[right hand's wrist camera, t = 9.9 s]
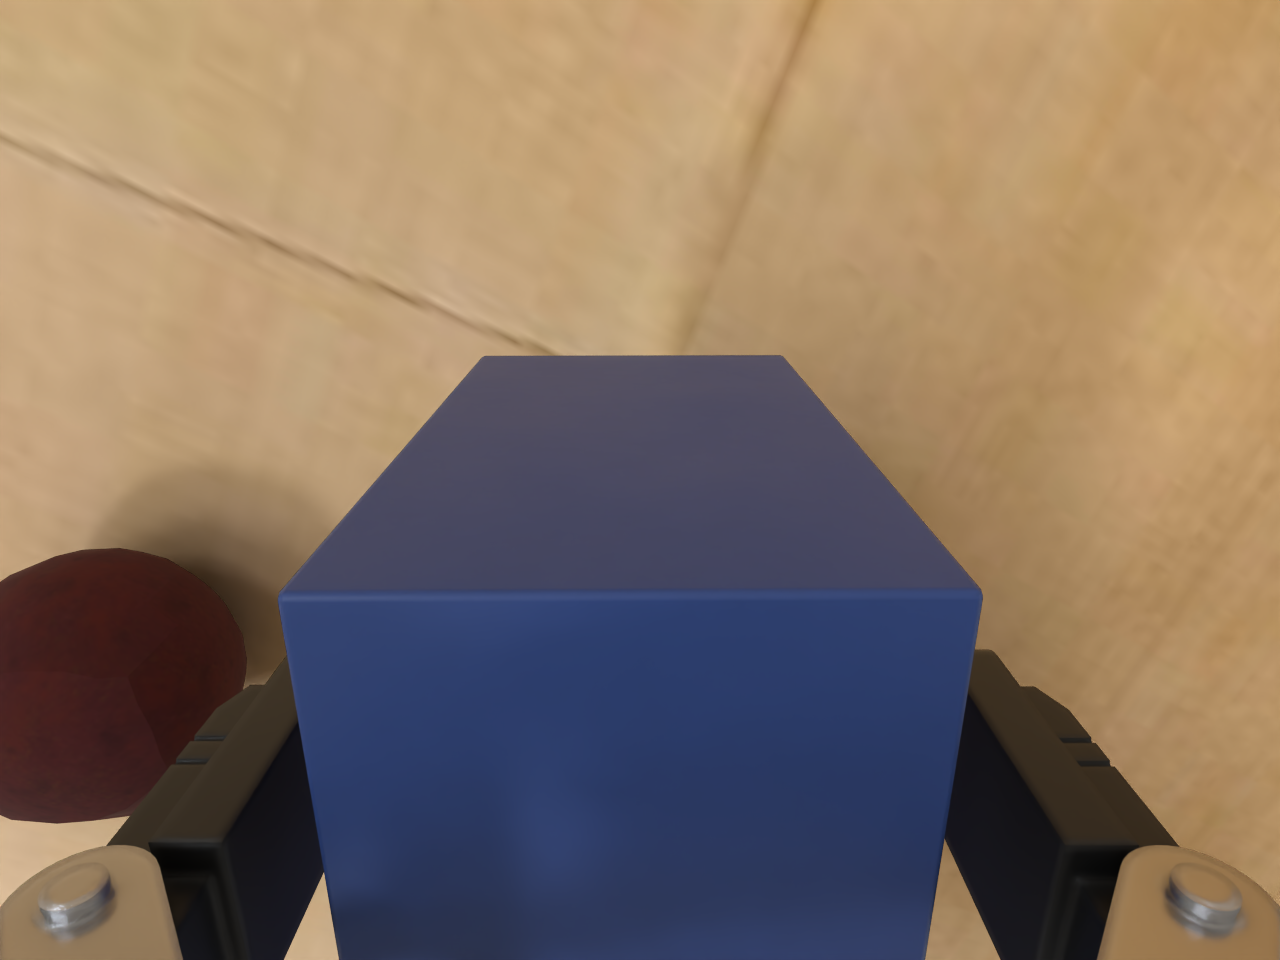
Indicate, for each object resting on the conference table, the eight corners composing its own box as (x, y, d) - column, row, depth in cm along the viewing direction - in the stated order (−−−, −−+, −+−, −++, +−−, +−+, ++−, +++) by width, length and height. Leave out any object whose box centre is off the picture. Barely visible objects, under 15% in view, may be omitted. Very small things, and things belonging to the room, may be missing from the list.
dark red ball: (308, 704, 27) (202, 871, 21) (84, 726, 28) (-90, 898, 21) (246, 501, 25) (103, 617, 18) (1, 528, 25) (-226, 652, 19)
